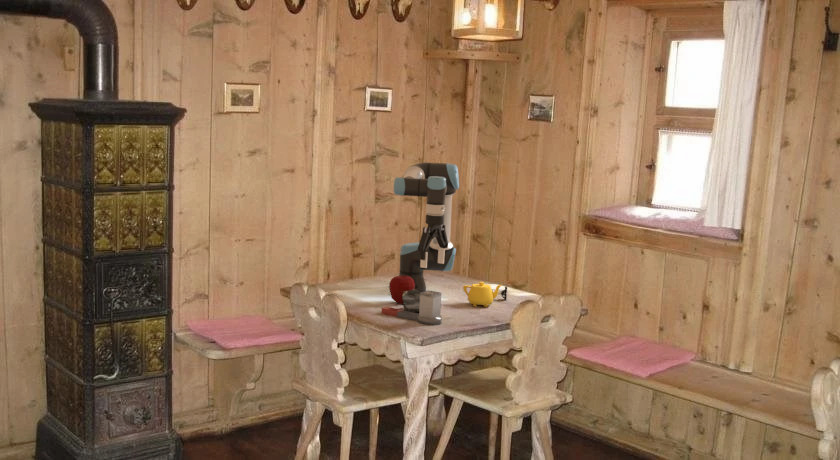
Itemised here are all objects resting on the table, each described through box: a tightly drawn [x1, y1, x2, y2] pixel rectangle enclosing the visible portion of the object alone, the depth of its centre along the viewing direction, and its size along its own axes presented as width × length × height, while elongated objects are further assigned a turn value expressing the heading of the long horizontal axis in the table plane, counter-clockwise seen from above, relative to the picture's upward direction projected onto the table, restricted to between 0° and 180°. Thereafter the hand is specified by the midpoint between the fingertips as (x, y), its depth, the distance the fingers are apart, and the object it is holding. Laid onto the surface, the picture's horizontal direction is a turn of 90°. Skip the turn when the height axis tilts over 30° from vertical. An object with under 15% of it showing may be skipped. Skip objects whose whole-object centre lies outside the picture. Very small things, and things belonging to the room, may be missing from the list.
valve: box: [491, 286, 508, 301], centre depth 402 cm, size 7×7×12 cm
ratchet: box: [380, 306, 443, 326], centre depth 356 cm, size 28×10×8 cm, turn 58°
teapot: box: [462, 281, 503, 308], centre depth 387 cm, size 18×11×11 cm, turn 87°
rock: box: [402, 289, 420, 313], centre depth 369 cm, size 14×11×10 cm
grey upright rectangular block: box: [418, 289, 442, 319], centre depth 351 cm, size 6×6×10 cm
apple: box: [388, 275, 415, 305], centre depth 383 cm, size 12×12×13 cm
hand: (432, 265), depth 348 cm, fingers open, 13 cm apart
